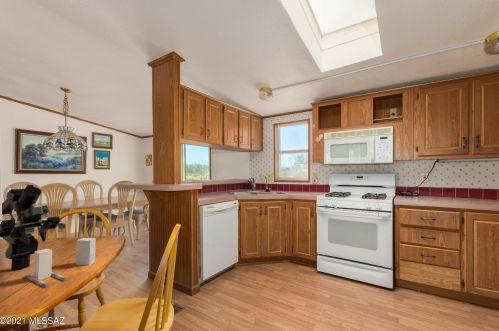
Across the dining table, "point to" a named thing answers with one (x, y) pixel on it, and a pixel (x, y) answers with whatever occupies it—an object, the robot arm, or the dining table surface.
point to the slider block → (42, 264)
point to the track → (43, 281)
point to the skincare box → (85, 251)
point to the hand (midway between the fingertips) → (36, 242)
